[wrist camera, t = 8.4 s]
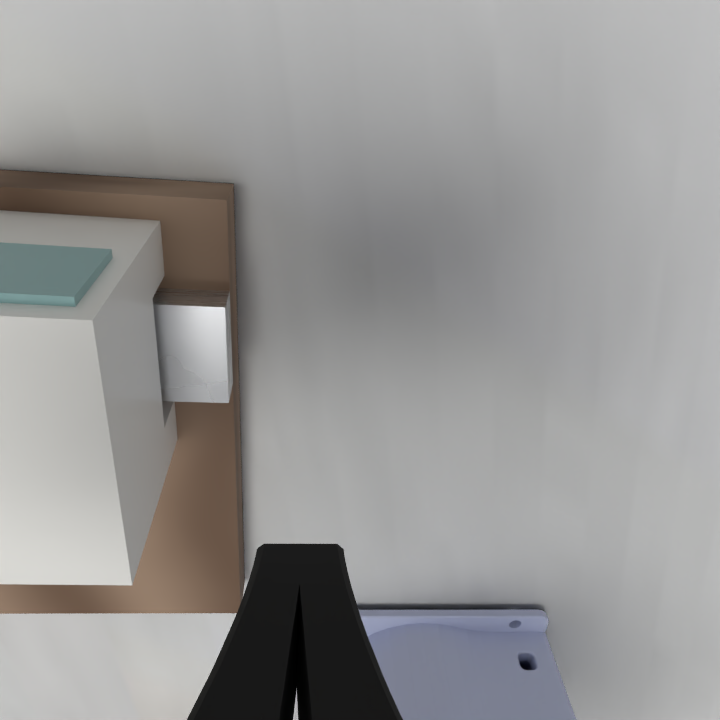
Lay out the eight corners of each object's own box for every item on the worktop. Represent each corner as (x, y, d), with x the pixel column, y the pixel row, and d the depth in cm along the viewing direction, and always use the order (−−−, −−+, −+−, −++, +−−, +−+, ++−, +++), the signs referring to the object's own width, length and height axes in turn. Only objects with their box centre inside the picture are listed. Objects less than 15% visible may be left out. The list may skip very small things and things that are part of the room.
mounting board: (233, 183, 17) (226, 199, 15) (244, 580, 25) (240, 613, 24) (-247, 154, 16) (-297, 169, 14) (-70, 579, 24) (-92, 613, 22)
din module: (159, 212, 15) (90, 310, 11) (177, 439, 19) (132, 585, 14) (-29, 200, 15) (-187, 296, 10) (25, 434, 19) (-72, 583, 14)
